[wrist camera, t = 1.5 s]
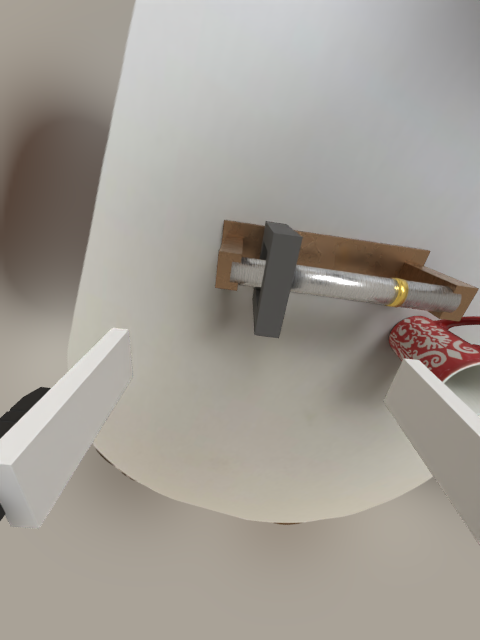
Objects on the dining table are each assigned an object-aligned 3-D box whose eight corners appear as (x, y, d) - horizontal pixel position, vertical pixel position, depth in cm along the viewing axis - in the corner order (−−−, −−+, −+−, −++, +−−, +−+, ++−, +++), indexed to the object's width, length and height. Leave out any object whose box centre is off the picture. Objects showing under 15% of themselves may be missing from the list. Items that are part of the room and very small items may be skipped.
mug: (408, 366, 45) (467, 429, 33) (370, 342, 43) (419, 400, 31) (471, 311, 40) (567, 362, 28) (432, 282, 38) (517, 322, 26)
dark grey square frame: (252, 298, 35) (254, 334, 26) (265, 221, 30) (273, 232, 21) (270, 301, 35) (278, 338, 26) (286, 224, 30) (302, 237, 22)
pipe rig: (218, 275, 39) (208, 305, 28) (224, 219, 35) (215, 230, 25) (403, 301, 40) (458, 339, 29) (426, 250, 36) (499, 272, 26)
